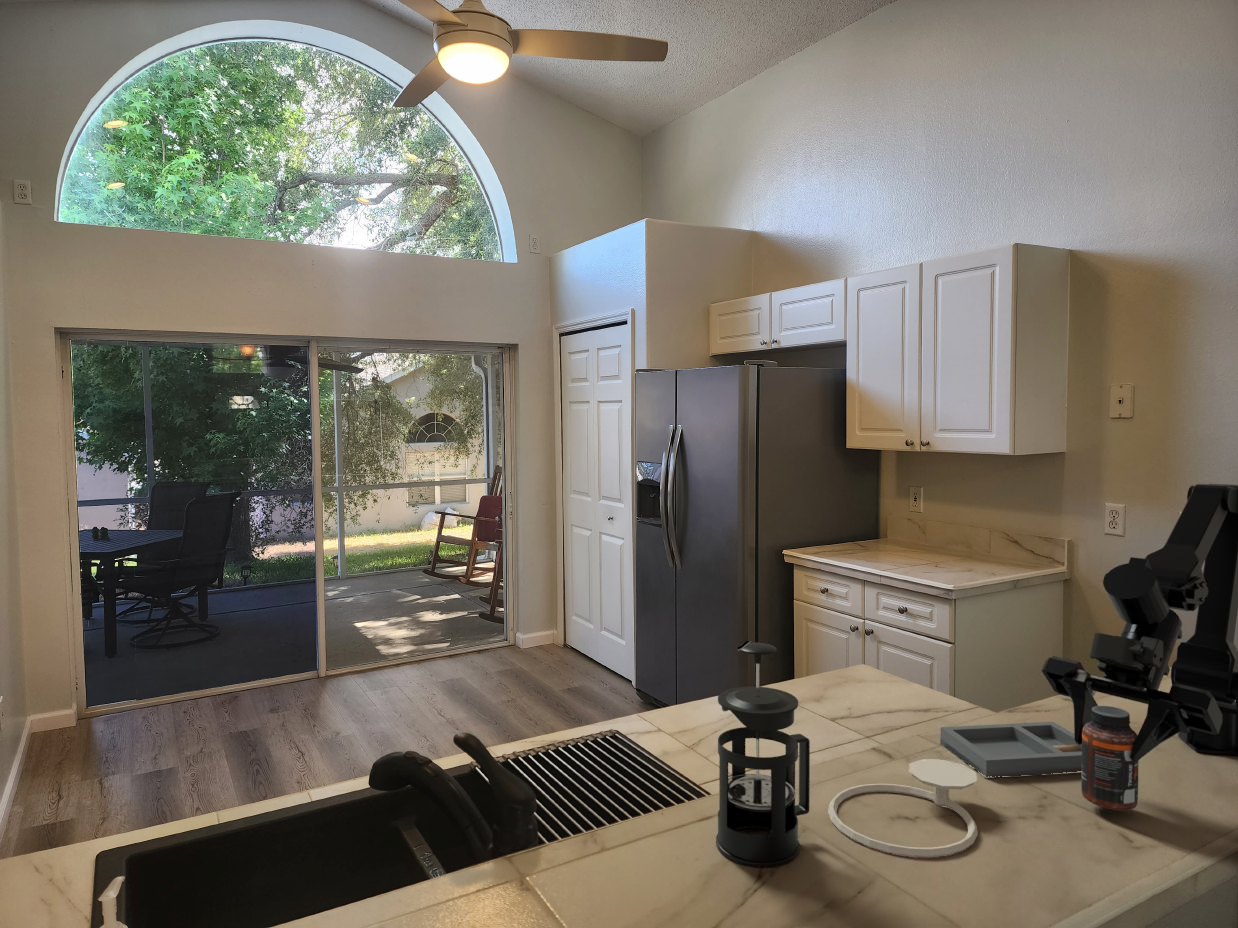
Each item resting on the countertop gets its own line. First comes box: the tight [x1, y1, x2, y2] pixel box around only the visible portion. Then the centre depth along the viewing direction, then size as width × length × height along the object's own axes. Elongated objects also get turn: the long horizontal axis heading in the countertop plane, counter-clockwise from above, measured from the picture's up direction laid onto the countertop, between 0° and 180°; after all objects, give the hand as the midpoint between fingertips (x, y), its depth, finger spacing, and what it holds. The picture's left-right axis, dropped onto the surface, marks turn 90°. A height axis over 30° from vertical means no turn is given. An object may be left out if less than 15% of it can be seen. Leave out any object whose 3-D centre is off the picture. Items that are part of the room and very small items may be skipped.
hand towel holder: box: [827, 758, 979, 859], centre depth 96 cm, size 17×4×20 cm
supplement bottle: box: [1080, 705, 1140, 811], centre depth 97 cm, size 6×6×11 cm
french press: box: [715, 642, 811, 869], centre depth 89 cm, size 12×9×23 cm
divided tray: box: [939, 721, 1082, 777], centre depth 113 cm, size 18×12×2 cm, turn 96°
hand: (1104, 750), depth 96 cm, fingers closed on supplement bottle, 6 cm apart
